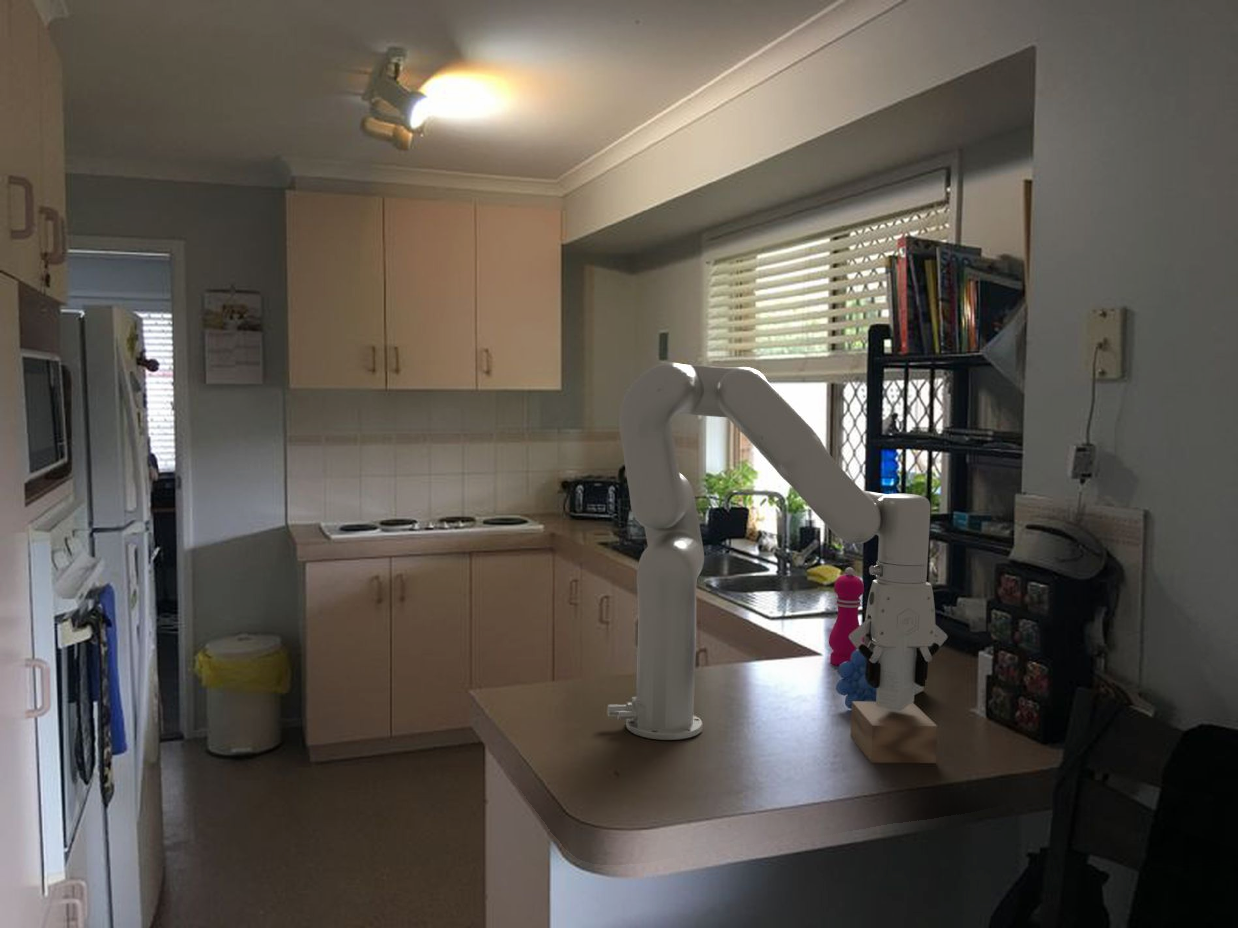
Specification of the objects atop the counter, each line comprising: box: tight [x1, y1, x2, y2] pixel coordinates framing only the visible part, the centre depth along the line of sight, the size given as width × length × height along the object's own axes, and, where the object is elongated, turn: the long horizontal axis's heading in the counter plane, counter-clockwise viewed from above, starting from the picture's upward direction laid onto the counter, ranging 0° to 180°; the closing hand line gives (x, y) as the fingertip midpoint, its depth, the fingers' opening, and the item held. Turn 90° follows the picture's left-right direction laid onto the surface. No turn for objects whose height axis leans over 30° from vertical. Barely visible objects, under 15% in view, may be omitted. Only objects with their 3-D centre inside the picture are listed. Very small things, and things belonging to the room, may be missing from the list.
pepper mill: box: [828, 567, 865, 667], centre depth 214 cm, size 7×7×20 cm
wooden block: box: [850, 701, 939, 764], centre depth 164 cm, size 10×12×6 cm
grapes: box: [835, 650, 877, 710], centre depth 182 cm, size 12×7×12 cm, turn 59°
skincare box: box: [876, 634, 916, 711], centre depth 163 cm, size 6×4×12 cm
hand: (895, 683), depth 163 cm, fingers closed on skincare box, 7 cm apart
